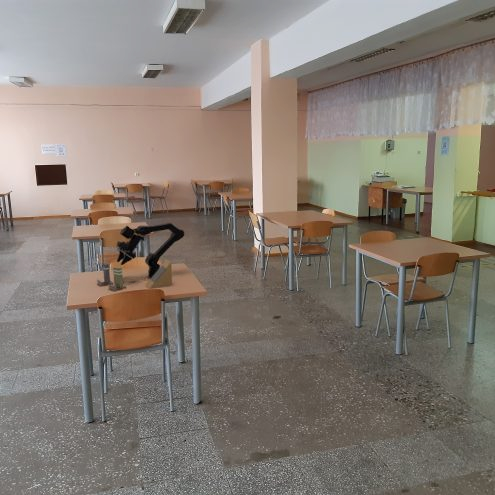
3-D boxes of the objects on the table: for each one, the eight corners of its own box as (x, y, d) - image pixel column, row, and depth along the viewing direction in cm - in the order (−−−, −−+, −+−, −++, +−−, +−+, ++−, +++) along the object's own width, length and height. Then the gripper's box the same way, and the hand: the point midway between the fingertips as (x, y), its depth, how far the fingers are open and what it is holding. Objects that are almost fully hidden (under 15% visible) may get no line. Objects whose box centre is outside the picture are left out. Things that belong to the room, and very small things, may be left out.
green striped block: (117, 285, 289) (116, 266, 287) (123, 286, 287) (122, 267, 284) (114, 286, 287) (112, 267, 285) (120, 287, 285) (118, 268, 282)
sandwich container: (144, 285, 293) (142, 262, 290) (167, 282, 300) (166, 259, 297) (148, 289, 285) (146, 265, 282) (172, 285, 293) (171, 262, 289)
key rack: (109, 281, 302) (108, 277, 301) (127, 288, 287) (127, 283, 286) (95, 284, 295) (95, 280, 295) (113, 291, 280) (113, 287, 280)
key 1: (108, 281, 299) (106, 262, 297) (110, 282, 295) (109, 264, 292) (104, 281, 298) (102, 263, 295) (106, 283, 294) (104, 264, 291)
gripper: (119, 233, 305) (105, 254, 303) (127, 238, 289) (112, 259, 287) (133, 243, 311) (119, 262, 308) (141, 248, 295) (127, 269, 292)
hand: (119, 263), depth 299 cm, fingers open, 9 cm apart
